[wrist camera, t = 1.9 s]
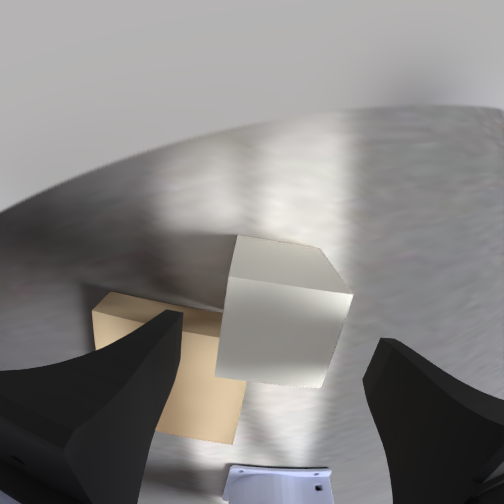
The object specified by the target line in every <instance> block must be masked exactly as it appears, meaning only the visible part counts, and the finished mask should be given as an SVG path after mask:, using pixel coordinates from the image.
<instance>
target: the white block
mask: <svg viewBox="0 0 504 504" xmlns="http://www.w3.org/2000/svg"><path fill="white" fill-rule="evenodd" d="M352 297H353V294H352V292H351V291H350V289H349V288H348V286H347V285H346V284H345V282H344V281H343V279H342V278H341V277H340V275H339V274H338V272H337V271H336V269H335V268H334V267H333V265H332V264H331V263H330V261H329V260H328V258H327V257H326V256H325V254H324V253H323V252H322V250H321V249H320V248H314V247H308V246H302V245H296V244H290V243H284V242H279V241H273V240H267V239H260V238H254V237H248V236H242V235H238V236H237V240H236V245H235V249H234V254H233V258H232V263H231V267H230V272H229V276H228V283H227V290H226V296H225V303H224V310H223V317H222V324H221V331H220V338H219V346H218V353H217V360H216V368H215V375H214V377H220V378H226V379H233V380H240V381H248V382H256V383H265V384H274V385H285V386H296V387H311V388H321V385H322V383H323V380H324V378H325V375H326V372H327V370H328V367H329V365H330V362H331V359H332V357H333V354H334V351H335V348H336V345H337V343H338V340H339V337H340V334H341V331H342V328H343V325H344V322H345V319H346V316H347V313H348V310H349V307H350V304H351V300H352Z"/></svg>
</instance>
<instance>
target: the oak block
mask: <svg viewBox="0 0 504 504" xmlns="http://www.w3.org/2000/svg"><path fill="white" fill-rule="evenodd" d="M166 309H168V310H173V311H178V312H184V313H183V327H182V343H181V360H180V364H179V367H178V371H177V375H176V379H175V382H174V385H173V387H172V390H171V392H170V395H169V397H168V400H167V402H166V404H165V407H164V409H163V412H162V414H161V417H160V419H159V422H158V424H157V427H156V429H155V431H159V432H164V433H168V434H173V435H177V436H182V437H188V438H193V439H198V440H204V441H211V442H217V443H224V444H232V445H233V441H234V437H235V433H236V428H237V424H238V420H239V415H240V411H241V407H242V402H243V398H244V394H245V389H246V385H247V381H240V380H233V379H226V378H220V377H214V375H215V368H216V360H217V353H218V346H219V338H220V331H221V324H222V317H223V313H217V312H211V311H205V310H199V309H194V308H188V307H183V306H178V305H173V304H167V303H162V302H157V301H153V300H148V299H143V298H138V297H134V296H129V295H125V294H120V293H116V292H111V291H110V292H109V293H108V294H107V295H106V296H105V297H104V298H103V299H102V300H101V301H100V303H99V304H98V305H97V306H96V307H95V308H94V309H93V310H92V318H93V329H94V338H95V347H96V350H98V349H100V348H103V347H105V346H107V345H109V344H111V343H113V342H115V341H117V340H118V339H120V338H122V337H124V336H126V335H127V334H129V333H131V332H133V331H134V330H136V329H137V328H139V327H140V326H142V325H144V324H145V323H147V322H148V321H149V320H151V319H152V318H154V317H155V316H157V315H158V314H160V313H161V312H163V311H164V310H166Z"/></svg>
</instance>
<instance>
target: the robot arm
mask: <svg viewBox="0 0 504 504" xmlns="http://www.w3.org/2000/svg"><path fill="white" fill-rule="evenodd" d="M183 313H184V312H178V311H173V310H168V309H166V310H164V311H163V312H161V313H160V314H158V315H157V316H155V317H154V318H152V319H151V320H149V321H148V322H147V323H145V324H144V325H142V326H140V327H139V328H137V329H136V330H134V331H133V332H131V333H129V334H127V335H126V336H124V337H122V338H120V339H118V340H117V341H115V342H113V343H111V344H109V345H107V346H105V347H103V348H100V349H98V350H96V351H93V352H91V353H88V354H86V355H83V356H80V357H77V358H73V359H70V360H67V361H63V362H60V363H56V364H52V365H47V366H42V367H36V368H30V369H22V370H7V371H0V504H137V502H138V497H139V492H140V487H141V482H142V477H143V473H144V469H145V464H146V460H147V456H148V452H149V449H150V445H151V441H152V438H153V435H154V432H155V429H156V427H157V424H158V422H159V419H160V417H161V414H162V412H163V409H164V407H165V404H166V402H167V400H168V397H169V395H170V392H171V390H172V387H173V385H174V382H175V379H176V375H177V371H178V367H179V364H180V360H181V343H182V327H183ZM362 380H363V385H364V390H365V395H366V399H367V403H368V406H369V408H370V411H371V414H372V416H373V419H374V422H375V424H376V427H377V430H378V433H379V435H380V438H381V441H382V443H383V446H384V450H385V453H386V457H387V462H388V467H389V473H390V479H391V486H392V495H393V504H504V400H502V399H499V398H496V397H493V396H491V395H488V394H486V393H483V392H481V391H479V390H477V389H475V388H473V387H471V386H469V385H467V384H465V383H463V382H461V381H459V380H458V379H456V378H454V377H453V376H451V375H449V374H448V373H446V372H445V371H443V370H442V369H440V368H438V367H437V366H436V365H434V364H433V363H431V362H430V361H428V360H427V359H425V358H424V357H422V356H421V355H420V354H418V353H417V352H415V351H414V350H412V349H411V348H409V347H408V346H406V345H405V344H403V343H401V342H400V341H398V340H396V339H392V338H380V340H379V343H378V345H377V347H376V350H375V352H374V355H373V357H372V359H371V362H370V364H369V366H368V368H367V371H366V373H365V375H364V377H363V379H362ZM330 474H331V469H279V468H261V467H248V466H238V465H233V466H231V467H230V469H229V473H228V477H227V481H226V485H225V489H224V493H223V497H222V499H223V500H225V501H229V504H334V500H333V495H332V490H331V485H330V479H329V476H330Z"/></svg>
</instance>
